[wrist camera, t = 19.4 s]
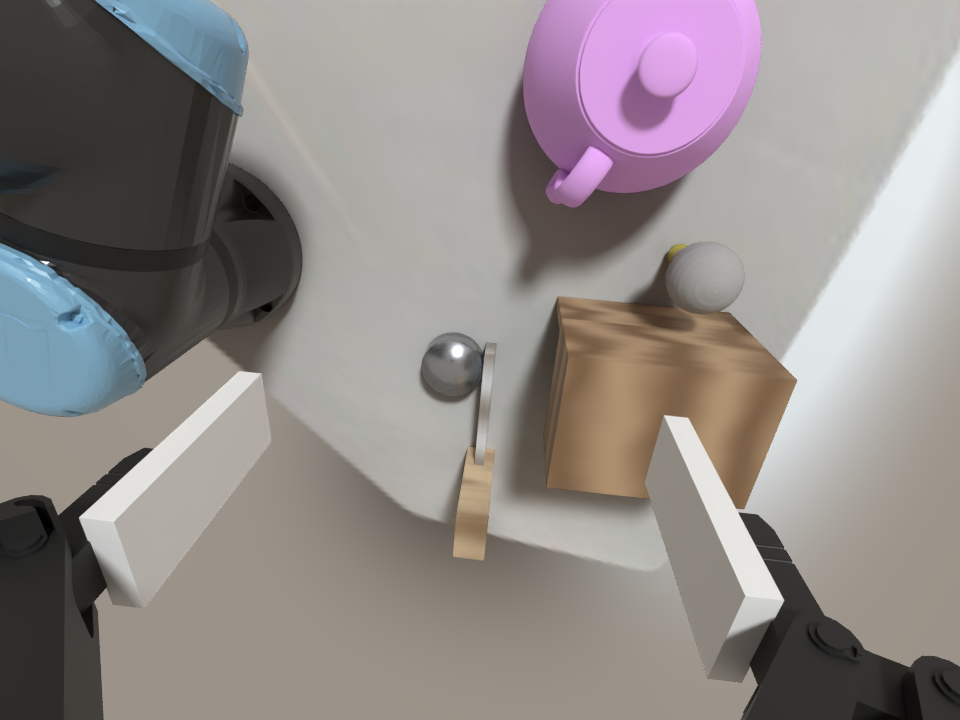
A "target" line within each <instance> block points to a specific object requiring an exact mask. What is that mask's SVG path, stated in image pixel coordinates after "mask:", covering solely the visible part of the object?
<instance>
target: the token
mask: <svg viewBox="0 0 960 720" xmlns="http://www.w3.org/2000/svg"><path fill="white" fill-rule="evenodd" d="M483 364H484V357H483V353H482V350H481V348H480V347H479V345H478V344H477V343H476V342H475V341H474V340H473V339H471V338H470V337H468V336H466V335H464V334H460V333H446V334H442V335H440V336H438V337H436V338H435V339H434V340H433V341H432V342H431V343H430V344H429V346H428V348H427V350H426V353H425V355H424V358H423V360H422V365H421V370H422V375H423V377H424V380H425V381H426V383H427V384H428V385H429V386H430V387H431V388H432V389H433V390H435V391H436V392H438V393H440V394H443V395H446V396H461V395H465V394H467V393H469V392H471V391H472V390H473V389H474V388H475V387H476V386H477V385H478V383H479V382H480V379H481V376H482V370H483Z"/></svg>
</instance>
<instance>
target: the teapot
mask: <svg viewBox="0 0 960 720" xmlns="http://www.w3.org/2000/svg"><path fill="white" fill-rule="evenodd" d="M761 41H762V40H761V25H760V20H759V15H758V10H757V6H756V4H755V1H754V0H548V1H547V2H546V4H545V5H544V7H543V9H542V11H541V13H540V15H539V17H538V19H537V22H536V24H535V26H534V29H533V32H532V35H531V37H530V40H529V43H528V48H527V52H526V57H525V62H524V72H523V96H524V104H525V109H526V113H527V117H528V121H529V124H530V126H531V129H532V132H533V134H534V136H535V138H536V140H537V141H538V143H539V145H540V147H541V148H542V150H543V151H544V152H545V154H546V155H547V156H548V158H549V159H550V160H551V161H552V162H553V163H554V164H555V165H556V166H557V167H558V168H559V170H558V171H557V172H556V173H555V174H554V176H553V177H552V179H551V180H550V182H549V184H548V186H547V188H546V195H547V197H548V198H549V200H550V201H551V202H553V203H555V204H561V203H562V204H564V205H565V206H568V207H572V208H575V207H578V206H579V205H581V204H582V203H583V202H584V201H585V200H586V199H587V198H588V197H589V196H590V195H591V194H592V192H593V191H594V190H595V189H598V190H602V191H606V192H614V193H635V192H641V191H646V190H651V189H654V188H658V187H661V186H664V185H666V184H668V183H671V182H673V181H675V180H677V179H679V178H680V177H682V176H684V175H685V174H687V173H689V172H690V171H692V170H693V169H695V168H696V167H697V166H699V165H700V164H701V163H703V162H704V161H705V160H706V159H707V158H708V157H709V156H710V155H712V154H713V153H714V152H715V151H716V150H717V149H718V147H719V146H720V145H721V144H722V143H723V142H724V140H725V139H726V138H727V137H728V135H729V134H730V133H731V131H732V130H733V128H734V127H735V125H736V124H737V122H738V121H739V119H740V117H741V115H742V113H743V111H744V110H745V108H746V106H747V103H748V101H749V98H750V96H751V93H752V91H753V88H754V84H755V81H756V77H757V74H758V69H759V63H760V57H761Z"/></svg>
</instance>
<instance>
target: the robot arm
mask: <svg viewBox="0 0 960 720" xmlns="http://www.w3.org/2000/svg"><path fill="white" fill-rule="evenodd" d="M248 57H249V51H248V44H247V41H246V38H245V35H244V33H243V31H242V29H241V28H240V26H239V25H238V23H237V22H236V21H235V20H234V19H233V18H232V17H231V15H229V14H228V13H227V12H226V11H224V10H223V9H221V8H220V7H219V6H217V5H216V4H214V3H213V2H211V1H210V0H0V400H2V401H5V402H7V403H9V404H11V405H14V406H16V407H19V408H22V409H25V410H28V411H31V412H35V413H39V414H44V415H50V416H60V417H72V416H80V415H83V414H89V413H92V412H97V411H99V410H101V409H103V408H105V407H107V406H109V405H111V404H112V403H114V402H116V401H118V400H119V399H121V398H123V397H125V396H127V395H130V394H132V393H135V392H136V391H137V390H138V389H140V388H141V387H142V385H143V384H144V382H146V381H147V380H148V379H150V378H151V377H152V376H154V375H155V374H157V373H158V372H159V371H161V370H162V369H164V368H165V367H166V366H168V365H169V364H170V363H172V362H173V361H175V360H176V359H177V358H178V357H180V356H181V355H183V354H184V353H186V352H187V351H188V350H189V349H191V348H192V347H193V346H195V345H197V344H198V343H199V342H200V341H202V340H203V339H205V338H206V337H208V336H209V335H210V334H212V333H213V332H214V331H216V330H221V329H228V328H234V327H240V326H246V325H250V324H253V323H256V322H259V321H261V320H263V319H265V318H267V317H268V316H270V315H271V314H273V313H274V312H275V311H276V310H277V309H279V308H280V307H281V306H282V305H284V304H285V303H286V302H287V301H288V299H289V298H290V297H291V295H292V294H293V292H294V291H295V289H296V287H297V284H298V282H299V278H300V274H301V268H302V251H301V244H300V240H299V236H298V233H297V230H296V227H295V225H294V222H293V220H292V218H291V216H290V215H289V213H288V211H287V210H286V208H285V207H284V205H283V204H282V202H281V201H280V200H279V199H278V197H277V196H276V195H275V194H274V193H273V192H272V191H271V190H270V189H269V188H268V187H267V186H266V185H265V184H264V183H262V182H261V181H260V180H259V179H257V178H256V177H254V176H253V175H251V174H250V173H248V172H246V171H244V170H242V169H240V168H238V167H236V166H233V165H230V164H228V161H229V157H230V152H231V148H232V143H233V139H234V135H235V130H236V126H237V121H238V117H239V116H242V114H243V107H242V105H241V99H242V93H243V87H244V81H245V75H246V69H247V64H248ZM270 443H271V434H270V428H269V421H268V414H267V407H266V400H265V393H264V386H263V379H262V373H252V372H243V371H239V372H238V373H236V374H235V375H234V376H233V377H232V378H231V379H230V380H229V381H228V382H227V383H225V384H224V385H223V386H222V387H221V388H220V389H219V390H218V391H217V392H216V393H215V394H214V395H212V396H211V397H210V398H209V399H208V400H207V401H206V402H205V403H204V404H203V405H201V406H200V407H199V408H198V409H197V410H196V411H195V412H194V413H193V414H192V415H191V416H189V417H188V418H187V419H186V420H185V421H184V422H183V423H182V424H181V425H180V426H179V427H178V428H176V429H175V430H174V431H173V432H172V433H171V434H170V435H169V436H168V437H166V438H165V439H164V440H163V441H162V442H161V443H160V444H159V445H158V446H157V447H156V448H154V449H150V448H143V449H141V450H139V451H137V452H135V453H133V454H132V455H130V456H128V457H126V458H124V459H123V460H122V461H120V462H119V463H118V464H117V465H116V466H115V467H114V468H112V469H111V470H110V471H109V473H108V475H104V476H103V477H102V478H101V479H100V480H99V481H97V482H96V485H93V486H92V487H91V488H89V489H88V490H87V491H86V492H85V493H84V494H83V495H81V496H80V497H79V498H78V499H77V500H76V501H75V502H73V503H72V504H71V505H70V506H69V507H68V508H67V509H65V510H64V511H63V512H62V513H61V514H60V515H57V512H56V510H55V507H54V505H53V503H52V500H51V499H50V498H47V497H45V496H43V495H42V496H39V495H29V496H23V497H18V498H14V499H12V500H9V501H6V502H3V503H0V720H103V701H102V684H101V683H102V682H101V664H100V645H99V626H98V611H97V608H96V606H95V603H94V601H95V600H96V598H98V596H99V595H100V594H101V593H102V592H103V591H104V589H105V588H107V590H108V593H109V596H110V598H111V601H112V603H113V605H121V606H129V607H137V608H145V607H146V605H147V604H148V603H149V602H150V600H151V599H152V598H153V596H154V595H155V594H156V592H157V591H158V590H159V588H160V587H161V586H162V584H163V583H164V582H165V581H166V579H167V578H168V577H169V575H170V574H171V573H172V571H173V570H174V569H175V567H176V566H177V565H178V564H179V562H180V561H181V560H182V558H183V557H184V556H185V554H186V553H187V552H188V550H189V549H190V548H191V546H192V545H193V544H194V543H195V541H196V540H197V538H198V537H199V536H200V535H201V533H202V532H203V531H204V529H205V528H206V527H207V525H208V524H209V523H210V522H211V520H212V519H213V518H214V516H215V515H216V514H217V512H218V511H219V510H220V509H221V507H222V506H223V505H224V503H225V502H226V501H227V499H228V498H229V497H230V495H231V494H232V493H233V492H234V490H235V489H236V488H237V486H238V485H239V484H240V482H241V481H242V480H243V478H244V477H245V476H246V474H247V473H248V472H249V471H250V469H251V468H252V466H253V465H254V464H255V463H256V461H257V460H258V459H259V457H260V456H261V455H262V454H263V452H264V451H265V449H266V448H267V447H268V445H269V444H270ZM645 485H646V488H647V491H648V494H649V497H650V501H651V504H652V507H653V510H654V513H655V516H656V519H657V522H658V526H659V529H660V532H661V535H662V538H663V541H664V544H665V548H666V551H667V554H668V557H669V560H670V563H671V566H672V570H673V572H674V576H675V579H676V582H677V585H678V588H679V591H680V594H681V598H682V601H683V604H684V607H685V610H686V613H687V616H688V620H689V623H690V626H691V629H692V632H693V635H694V638H695V642H696V645H697V647H698V651H699V654H700V657H701V660H702V664H703V667H704V670H705V673H706V676H707V678H708V679H716V680H723V681H732V682H740V683H741V682H742V681H743V679H744V677H745V675H746V674H747V671H748V670H749V667H751V669H752V671H753V674H754V677H755V679H756V681H757V684H758V686H757V688H756V690H755V692H754V694H753V695H752V697H751V699H750V701H749V703H748V704H747V706H746V708H745V710H744V712H743V713H744V714H743V716H742V718H741V720H960V667H959V666H958V665H956V664H954V663H952V662H950V661H948V660H945V659H942V658H939V657H935V656H921V657H920V658H918V659H917V660H916V661H914V663H913V664H912V665H911V667H907V666H905V665H902V664H900V663H897V662H894V661H892V660H889V659H886V658H884V657H881V656H879V655H876V654H873V653H871V652H869V651H866V650H865V649H864V648H863V646H862V645H861V643H860V642H859V640H858V639H857V638H856V637H855V636H854V635H853V634H852V633H851V631H849V630H848V629H846V628H845V627H844V626H842V625H841V624H840V623H838V622H837V621H835V620H832V619H831V618H829V617H826V616H825V615H824V614H823V612H822V611H821V609H820V607H819V605H818V604H817V602H816V600H815V599H814V597H813V595H812V594H811V592H810V590H809V589H808V587H807V585H806V583H805V582H804V580H803V579H802V577H801V575H800V573H799V571H798V570H797V568H796V566H795V565H794V564H792V560H791V558H790V556H789V555H788V553H787V551H786V550H784V546H783V544H782V543H781V541H780V539H779V538H778V536H777V534H776V533H775V531H774V530H773V529H772V528H771V527H770V526H769V525H768V524H767V523H766V522H765V521H764V520H763V519H762V518H760V517H759V515H756V514H747V513H738V512H737V510H736V508H735V506H734V504H733V502H732V500H731V498H730V496H729V494H728V493H727V491H726V489H725V487H724V485H723V483H722V481H721V479H720V477H719V475H718V474H717V472H716V470H715V468H714V466H713V464H712V462H711V460H710V458H709V456H708V455H707V453H706V451H705V449H704V447H703V445H702V443H701V441H700V439H699V437H698V436H697V434H696V432H695V430H694V428H693V426H692V424H691V422H690V420H689V418H686V417H676V416H667V415H664V416H663V420H662V423H661V427H660V430H659V434H658V437H657V441H656V445H655V448H654V452H653V455H652V459H651V462H650V466H649V469H648V473H647V476H646V480H645Z"/></svg>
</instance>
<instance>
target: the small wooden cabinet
mask: <svg viewBox="0 0 960 720" xmlns="http://www.w3.org/2000/svg"><path fill="white" fill-rule="evenodd" d="M556 310H557V317H558V323H559V330H560V333H559V339H558V345H557V352H556V358H555V364H554V371H553V377H552V384H551V390H550V396H549V403H548V409H547V415H546V422H545V428H544V452H545V471H546V487H547V488H556V489H565V490H574V491H583V492H592V493H601V494H610V495H619V496H628V497H637V498H646V499H650V497H649V494H648V491H647V488H646V485H645V480H646V476H647V473H648V469H649V466H650V462H651V459H652V455H653V452H654V448H655V445H656V441H657V437H658V434H659V430H660V427H661V423H662V420H663V416H664V415H667V416H676V417H686V418H689V420H690V422H691V424H692V426H693V428H694V430H695V432H696V434H697V436H698V437H699V439H700V441H701V443H702V445H703V447H704V449H705V451H706V453H707V455H708V456H709V458H710V460H711V462H712V464H713V466H714V468H715V470H716V472H717V474H718V475H719V477H720V479H721V481H722V483H723V485H724V487H725V489H726V491H727V493H728V494H729V496H730V498H731V500H732V502H733V504H734V506H735V508H737V509H744V508H745V506H746V503H747V501H748V499H749V496H750V494H751V491H752V489H753V486H754V484H755V481H756V479H757V477H758V474H759V472H760V469H761V467H762V465H763V462H764V460H765V457H766V455H767V452H768V450H769V448H770V445H771V443H772V440H773V438H774V436H775V433H776V431H777V428H778V426H779V423H780V421H781V419H782V416H783V414H784V411H785V409H786V406H787V404H788V401H789V399H790V397H791V394H792V392H793V389H794V387H795V384H796V382H797V379H796V378H795V377H794V376H792V374H790V373H789V371H788V370H786V368H784V366H783V365H782V364H781V363H780V362H779V361H778V360H777V359H776V358H775V357H774V356H772V355H771V354H770V353H769V352H768V351H767V350H766V349H765V348H764V347H763V346H762V345H761V344H760V343H759V342H758V341H757V340H756V339H755V338H754V337H753V336H752V335H751V334H750V333H749V332H748V331H747V330H746V329H745V328H744V327H743V326H742V325H741V324H740V323H739V322H738V321H737V320H736V319H735V318H734V317H733V316H732V315H731V314H730V313H727V312H716V313H712V314H706V315H700V314H694V313H689V312H687V311H684V310H683V309H681V308H674V307H663V306H653V305H642V304H632V303H621V302H611V301H600V300H590V299H579V298H569V297H558V300H557V307H556Z"/></svg>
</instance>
